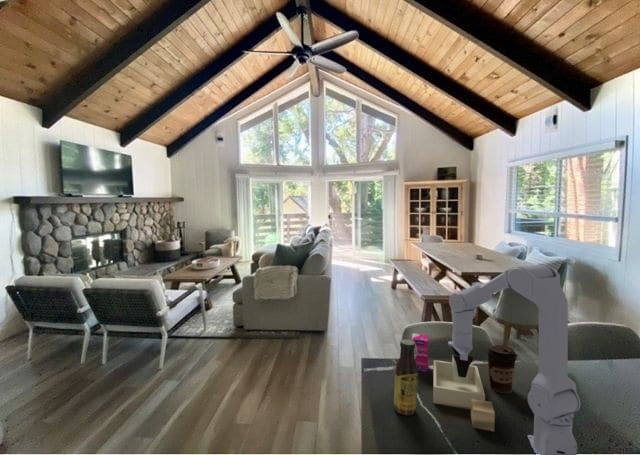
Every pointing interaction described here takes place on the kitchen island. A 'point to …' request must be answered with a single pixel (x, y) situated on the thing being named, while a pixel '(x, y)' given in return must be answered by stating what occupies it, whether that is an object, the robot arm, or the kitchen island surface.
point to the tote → (455, 386)
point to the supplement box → (421, 351)
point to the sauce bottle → (406, 380)
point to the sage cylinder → (455, 373)
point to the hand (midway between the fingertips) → (461, 372)
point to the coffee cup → (501, 368)
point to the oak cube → (482, 414)
